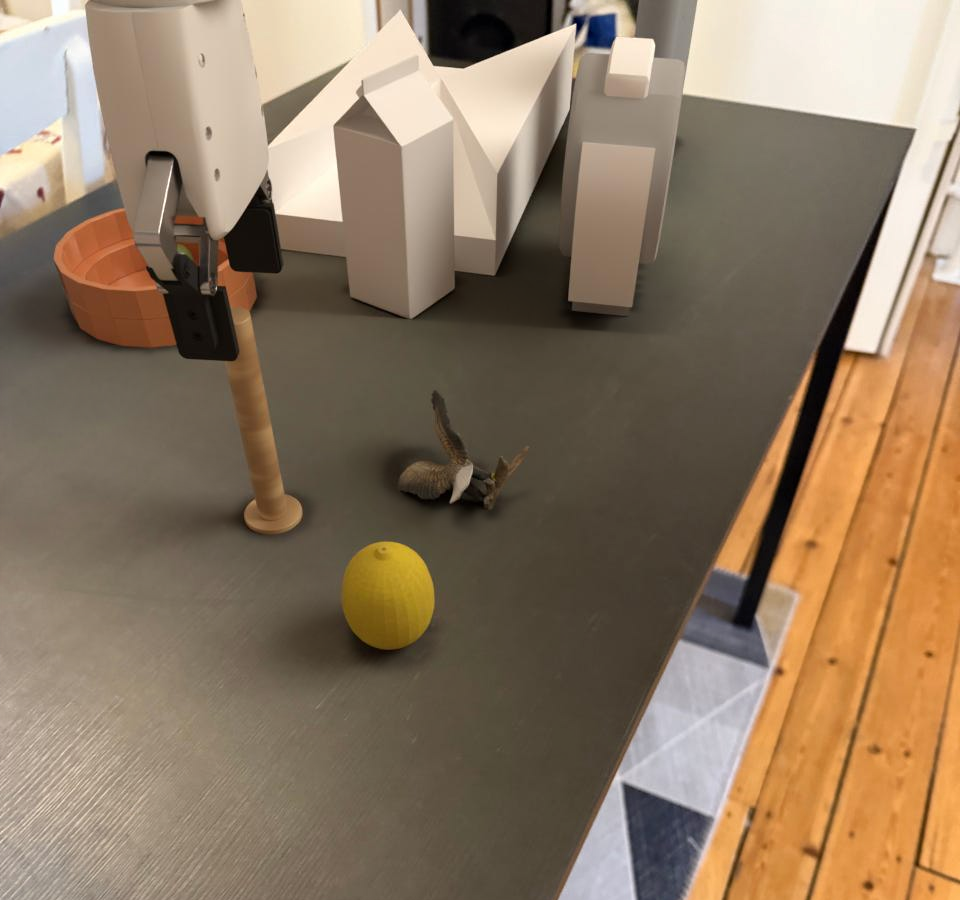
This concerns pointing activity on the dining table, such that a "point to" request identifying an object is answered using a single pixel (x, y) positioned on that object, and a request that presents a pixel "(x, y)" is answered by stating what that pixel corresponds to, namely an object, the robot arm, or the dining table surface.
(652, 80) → the grey boxy piece
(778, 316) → the dining table surface
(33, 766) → the dining table surface
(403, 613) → the lemon
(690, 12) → the flask
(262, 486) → the stick
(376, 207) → the milk carton
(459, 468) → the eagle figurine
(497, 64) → the building model
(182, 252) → the bead
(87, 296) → the bowl
